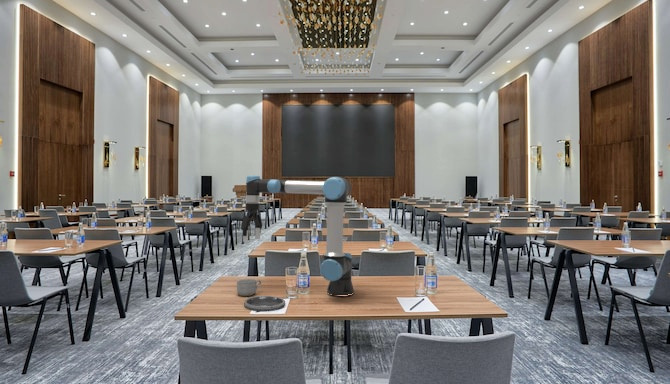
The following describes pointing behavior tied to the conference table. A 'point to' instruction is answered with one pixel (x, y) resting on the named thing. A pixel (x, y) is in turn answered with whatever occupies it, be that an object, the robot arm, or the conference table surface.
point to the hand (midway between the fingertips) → (251, 240)
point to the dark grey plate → (264, 303)
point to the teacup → (247, 286)
